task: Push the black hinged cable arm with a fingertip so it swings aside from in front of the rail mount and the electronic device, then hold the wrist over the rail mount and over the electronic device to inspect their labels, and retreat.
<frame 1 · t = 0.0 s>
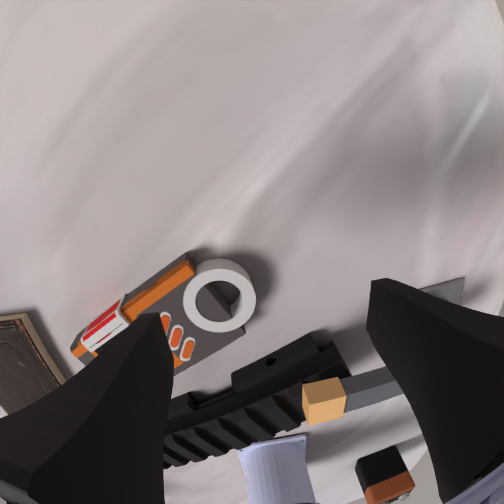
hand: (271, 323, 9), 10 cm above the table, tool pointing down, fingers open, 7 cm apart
pivot post: (434, 311, 23), on the table
electronic device: (164, 318, 21), on the table
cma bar: (412, 374, 17), point 6 cm above the table, hinge at 0.0°
hardcover book: (37, 393, 24), on the table
rail mount: (232, 396, 25), on the table
battery: (374, 456, 34), on the table
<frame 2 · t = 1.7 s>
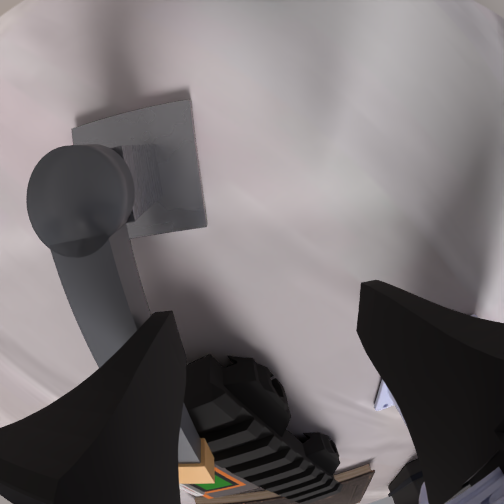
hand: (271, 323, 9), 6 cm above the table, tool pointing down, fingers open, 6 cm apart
pivot post: (137, 173, 13), on the table
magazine: (401, 474, 32), on the table
electronic device: (188, 448, 22), on the table
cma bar: (140, 378, 9), point 6 cm above the table, hinge at 0.0°, touching gripper
hardcover book: (286, 498, 30), on the table
rail mount: (270, 424, 21), on the table
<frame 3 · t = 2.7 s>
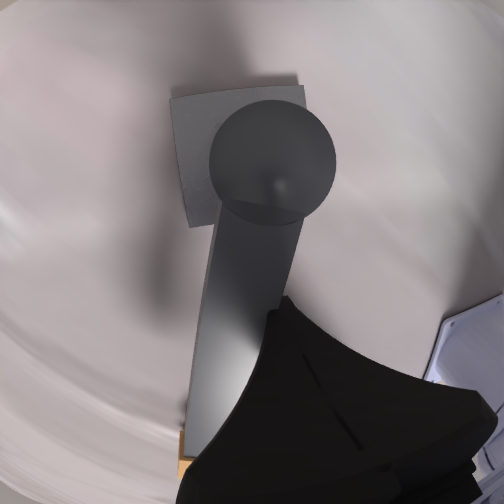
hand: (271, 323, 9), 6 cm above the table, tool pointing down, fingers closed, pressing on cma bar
pivot post: (244, 153, 13), on the table
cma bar: (223, 366, 9), point 6 cm above the table, hinge at 19.2°, touching gripper
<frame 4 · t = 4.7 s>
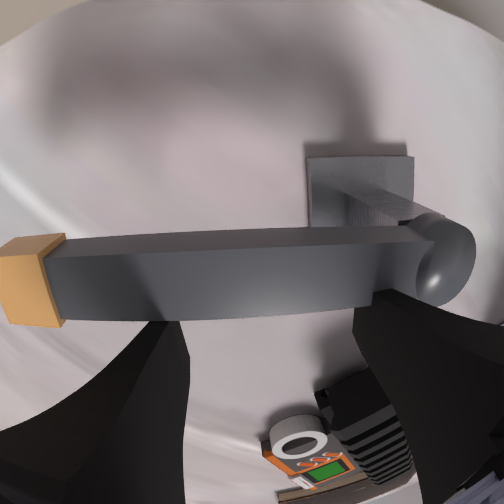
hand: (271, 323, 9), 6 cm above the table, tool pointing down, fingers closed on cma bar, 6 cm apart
pivot post: (362, 212, 14), on the table
electronic device: (311, 444, 24), on the table
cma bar: (247, 273, 8), point 6 cm above the table, hinge at 95.3°, touching gripper
hardcover book: (350, 484, 33), on the table
rail mount: (371, 417, 23), on the table
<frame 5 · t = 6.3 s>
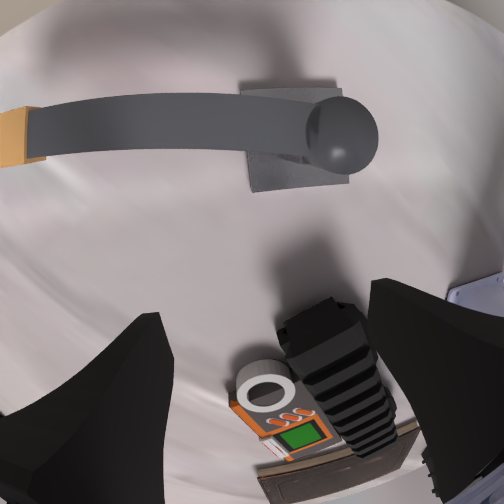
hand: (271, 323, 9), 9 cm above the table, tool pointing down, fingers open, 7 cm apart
pivot post: (296, 137, 16), on the table
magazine: (433, 440, 36), on the table
electronic device: (284, 403, 25), on the table
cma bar: (161, 122, 9), point 6 cm above the table, hinge at 100.4°
hardcover book: (337, 465, 33), on the table
rail mount: (347, 375, 25), on the table
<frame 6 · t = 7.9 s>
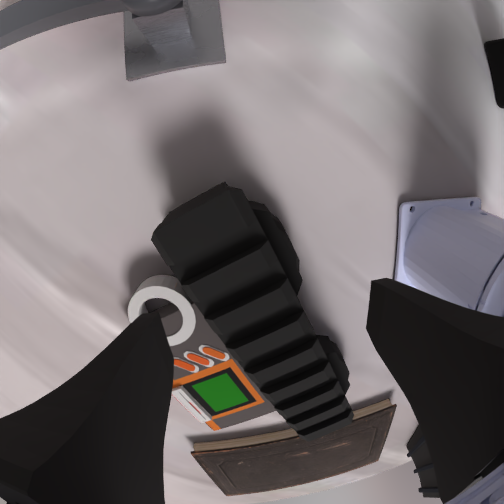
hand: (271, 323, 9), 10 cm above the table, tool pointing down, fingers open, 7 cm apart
pivot post: (172, 30, 13), on the table
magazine: (420, 429, 33), on the table
electronic device: (201, 349, 22), on the table
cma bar: (30, 15, 7), point 6 cm above the table, hinge at 100.4°
hardcover book: (297, 451, 30), on the table
rail mount: (275, 316, 22), on the table
battery: (499, 77, 15), on the table
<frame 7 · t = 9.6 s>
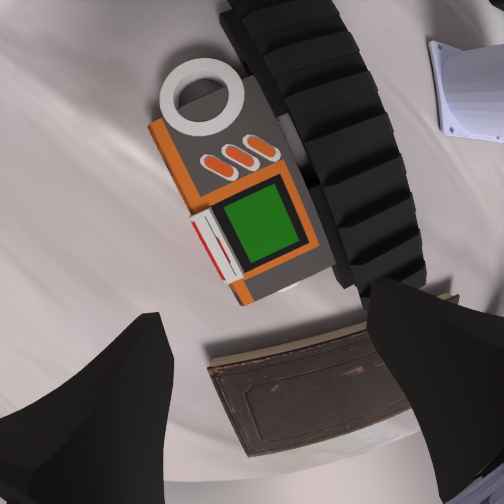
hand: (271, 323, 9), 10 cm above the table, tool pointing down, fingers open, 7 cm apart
electronic device: (237, 174, 18), on the table
hardcover book: (342, 379, 26), on the table
rail mount: (326, 130, 17), on the table
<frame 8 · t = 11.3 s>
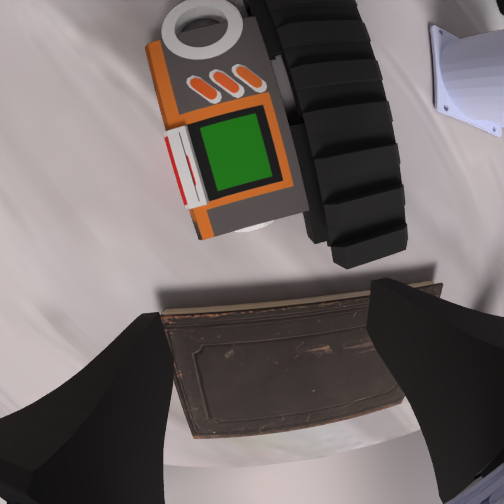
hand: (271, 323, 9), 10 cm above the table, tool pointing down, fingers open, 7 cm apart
electronic device: (221, 109, 17), on the table
hardcover book: (306, 363, 25), on the table
rail mount: (317, 82, 16), on the table
battery: (501, 0, 12), on the table
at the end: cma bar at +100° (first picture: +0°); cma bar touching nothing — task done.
